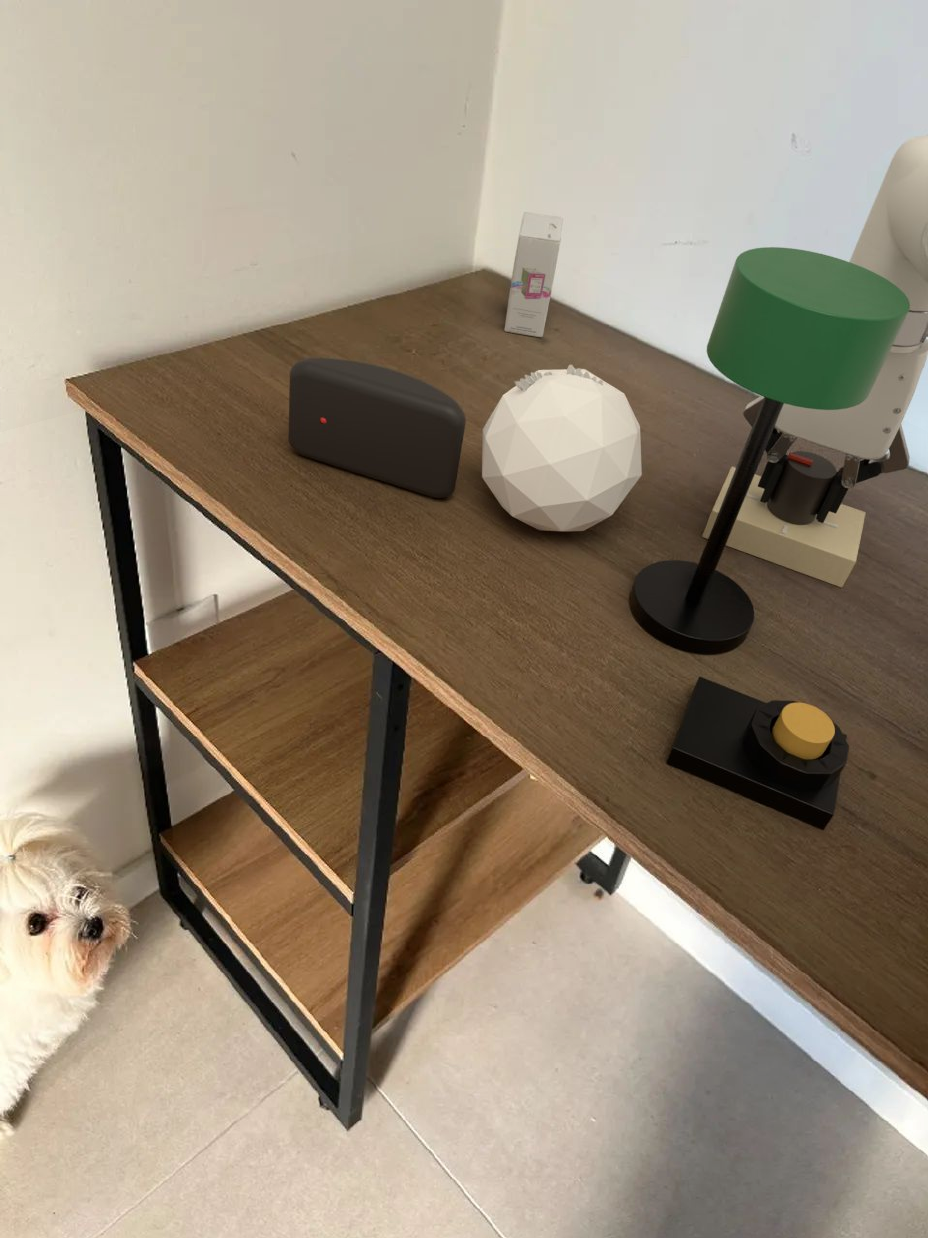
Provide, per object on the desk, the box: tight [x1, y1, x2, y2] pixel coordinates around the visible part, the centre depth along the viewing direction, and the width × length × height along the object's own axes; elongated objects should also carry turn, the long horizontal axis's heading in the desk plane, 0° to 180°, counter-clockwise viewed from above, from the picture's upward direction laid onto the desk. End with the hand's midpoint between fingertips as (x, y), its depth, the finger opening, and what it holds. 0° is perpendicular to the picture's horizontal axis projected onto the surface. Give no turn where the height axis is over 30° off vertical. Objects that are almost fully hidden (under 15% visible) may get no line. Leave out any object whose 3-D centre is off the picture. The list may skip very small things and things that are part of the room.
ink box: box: [503, 211, 564, 338], centre depth 112 cm, size 9×5×12 cm, turn 174°
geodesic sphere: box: [481, 364, 643, 532], centre depth 80 cm, size 15×14×14 cm
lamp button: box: [773, 702, 835, 759], centre depth 63 cm, size 4×4×2 cm
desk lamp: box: [628, 246, 910, 656], centre depth 68 cm, size 11×11×28 cm
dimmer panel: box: [701, 466, 866, 588], centre depth 86 cm, size 13×9×3 cm
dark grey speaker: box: [287, 357, 467, 499], centre depth 83 cm, size 16×5×9 cm, turn 71°
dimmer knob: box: [767, 450, 838, 525], centre depth 84 cm, size 4×4×5 cm
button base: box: [666, 675, 850, 831], centre depth 65 cm, size 11×8×4 cm
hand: (794, 503), depth 85 cm, fingers closed on dimmer knob, 4 cm apart
